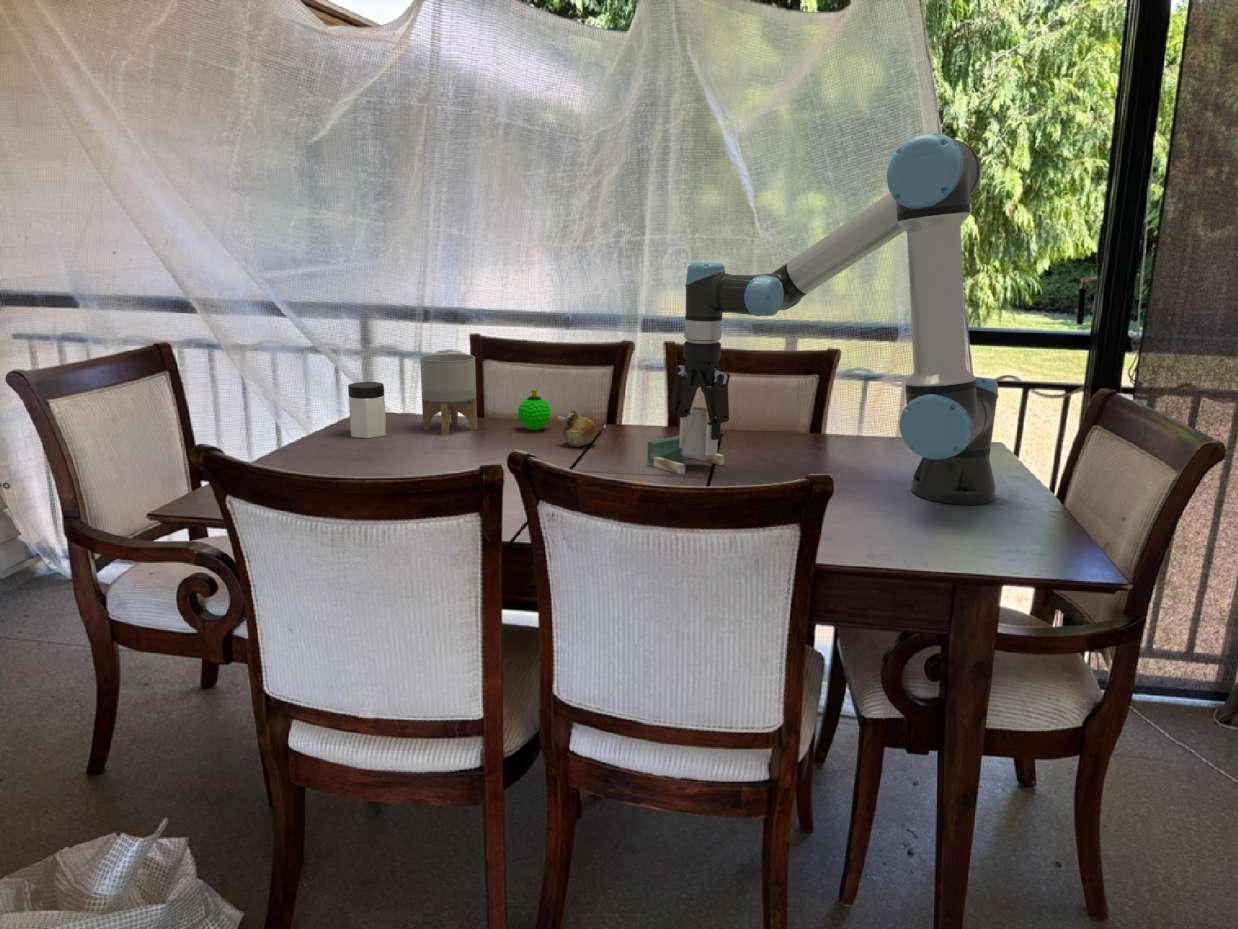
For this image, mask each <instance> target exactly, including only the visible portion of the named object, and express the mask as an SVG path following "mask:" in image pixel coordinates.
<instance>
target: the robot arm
mask: <svg viewBox="0 0 1238 929" xmlns="http://www.w3.org/2000/svg"><path fill="white" fill-rule="evenodd" d="M981 167H982V166H981V161H980V158H979V155H978V153H977V152H976V151H975V149H974V148H972V146H970V145H969V144H968V143H965V142H964V141H962V140H958V139H955V138H951V136H950V137H949V136H947V135H945V134H941V133H930V134H929V133H926V134H920V135H916V136H914V137H912V138H910V139H907V141H905V142H904V143H903V144H901V146H899V147H898V148H897V149H896V151H895V152H894V154H893V155H892V156H891V159H890V161H889V164H888V167H887V171H886V184H887V187H888V191H889V193H887V194H886V195H884V196H883V197H881V198H880V199H878V200H877V201H875V202H874V203H872V204H871V205H869V206H868V207H866V208H865V209H864V210H862V211H860V212H859V213H858V214H857V215H855V216H853V217H852V218H851V219H849V220H847V221H846V222H844V223H843V224H842V225H841V226H839V227H837V228H836V229H835V230H833V231H831V232H830V233H828V234H827V235H826V236H824V237H823V238H821V239H820V240H818V241H817V242H815V243H814V244H813V245H811V246H810V247H808V248H806V249H804V251H802V252H801V253H799V254H797V255H796V256H794V257H793V258H792V259H790V260H789V261H787V263H785V264H783V265H782V266H780V267H778V268H777V269H776V270H774V271H773V272H771V273H770V272H769V273H764V274H763V273H762V274H731V273H726V271H725V270H726V269H725V268H726V267H725V265H724V264H723V263H722V262H718V263H717V262H707V261H706V262H692V263H690V264H689V265H688V266H687V270H686V281H685V284H684V285H685V286H684V287H685V314H684V315H685V316H684V330H683V331H684V332H683V338H684V339H685V341H684V342H683V359H684V360H685V363H684V365H676V366H674V367H673V372H674V382H673V390H672V391H673V393H672V399H671V408H670V409H671V412H672V413H675V414H676V415H677V417H678V424H677V428H678V431H679V436H680V441H679V448H683V446H684V444H685V441H686V439H687V436H688V434H689V431H690V428H691V425H692V420H693V412H691V411H692V408H693V404H694V401H695V398H696V394H697V390H698V389H699V388H700V390H701V392H702V393H703V396H704V401H705V405H706V408H707V414H708V419H709V422H707V423H706V424H707V429H706V452H705V455H707V456H709V455H714V454H718V441H719V440H720V438H721V424H723V423H727V422H729V421H730V408H729V406H730V405H729V403H730V402H729V381H730V377H731V376H730V373H727V372H725V373H723V372H722V371H721V370H720V369H719V366H718V363H719V361H720V360H721V357H722V356H721V351H722V350H721V349H722V343H721V342H720V340H721V339H722V328H723V327H722V326H723V314H728V313H729V314H738V315H749V316H754V317H773V316H775V315H776V314H778V312H779V311H786V310H789V309H790V308H793V307H795V306H796V305H798V304H799V303H800V302H801V301H802V298H804V297H806V295H808V294H809V293H811V292H812V291H814V290H815V289H817V288H818V287H820V286H821V285H823V284H825V283H826V282H828V281H829V280H831V279H832V278H834V277H835V276H837V275H839V274H841V273H842V272H844V271H845V270H847V269H849V268H850V267H851V266H853V265H854V264H856V263H858V262H859V261H861V260H863V258H865V257H867V256H868V255H870V254H871V253H873V252H875V251H876V250H878V249H879V248H881V247H882V246H884V245H886V244H887V243H889V242H891V241H892V240H894V239H895V238H897V237H898V236H900V235H901V234H903V233H905V232H906V236H907V257H908V258H907V259H908V262H907V263H908V278H909V280H908V281H909V282H908V283H909V301H910V319H911V320H910V322H911V343H912V344H911V345H912V362H913V364H912V365H913V366H912V367H913V372H912V374H911V375H910V376H909V377H908V378H907V379H906V381H905V382H904V383H905V384H904V385H905V386H904V387H905V406H904V407H903V409H902V412H901V415H900V418H899V422H898V423H899V426H898V427H899V431H900V436H901V438H902V440H903V442H904V443H905V445H906V446H907V448H909V449H910V450H911V451H912V452H914V454H916V455H918V456H919V457H921V459H920V461H919V463H918V465H917V467H916V470H915V472H914V474H913V476H912V479H911V487H910V488H911V489H910V490H911V493H913V494H914V495H916V496H918V497H921V498H922V499H926V500H929V501H933V502H938V503H943V504H949V505H959V506H960V505H962V506H963V505H964V506H975V505H978V506H979V505H984V504H989V503H991V502H993V501H994V500H995V496H996V483H995V482H996V481H995V478H994V477H995V476H994V473H993V469H992V466H991V460H990V455H991V448H992V441H993V432H994V426H995V416H996V409H997V401H998V398H999V392H998V391H999V384H998V382H997V380H996V379H994V378H990V377H983V376H982V377H981V376H975V375H974V374H973V373H972V372H970V371H969V370H968V369H967V358H966V357H967V356H966V338H965V336H966V332H965V308H964V307H965V306H964V305H965V304H964V303H965V302H964V284H963V283H964V280H963V278H964V277H963V258H962V256H963V254H962V251H963V250H962V249H963V248H962V228H961V227H962V225H963V223H965V221H966V220H967V219H968V217H969V216H970V215H971V211H970V210H971V208H970V206H971V205H970V199H971V196H972V195H973V194H974V193H975V190H976V189H977V188H978V185H979V184H980V180H981V174H982V173H981V172H982V171H981V170H982V168H981Z"/></svg>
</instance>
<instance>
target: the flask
mask: <svg viewBox="0 0 1238 929" xmlns="http://www.w3.org/2000/svg"><path fill="white" fill-rule="evenodd" d="M691 411H692V425H691V428H690V431H689V434H688V436H687V439H686V441H685V444H684V446H683V448H682V451H681V454H682V455H683V456H684V457H690V459H696V458H711V457H713V456H715V454H714V455H709V456H707V455H705V452H706V429H707V424H708V423H707V418H706V417H707V413H708V411H707V407H702V406H701V407H700V406H694V407H691Z"/></svg>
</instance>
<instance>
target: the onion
mask: <svg viewBox="0 0 1238 929" xmlns="http://www.w3.org/2000/svg"><path fill="white" fill-rule="evenodd" d="M557 419H558V421H559V422H561V423H565V424H566V425H565V426H564V429H563V438H564V439H565V441H566V442H567V443H568V445H570V446H573V447H574V448H575V447H577V448H579V447H584V446H587V445H588V446H589V445H590V443H591V442H592V441H593V439H594V438H595V437H596V435H597V426H596V424H595V422H594V421H593V420H592V419H590V418H589V417H585V416H581V415H580V414H579V412H578V411H576V410H571V412H570V411H569V412H568V415H567V417H566V416H565V417H564V416H561V415H558V418H557Z"/></svg>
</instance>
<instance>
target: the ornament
mask: <svg viewBox="0 0 1238 929" xmlns="http://www.w3.org/2000/svg"><path fill="white" fill-rule="evenodd" d="M530 390H531V396H528V397H527V398H526V399H524V400H523V401H522V402H521V403H520V404H519V406H518V411H517V414H518V415H517V417H518V418H519V422H520V423H521V425H522V426H524V427H525V429H527V430H531V431H540V430H542V429H544V428H545V427H546V426H547V425H548V423H549V422H550V421H551V420H550V419H551V417H552V414H551V413H552V411H551V407H550V405H549V403H548V402H546V401H545V399H542V397H541V396H538V394H537V392H538V389H530Z"/></svg>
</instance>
